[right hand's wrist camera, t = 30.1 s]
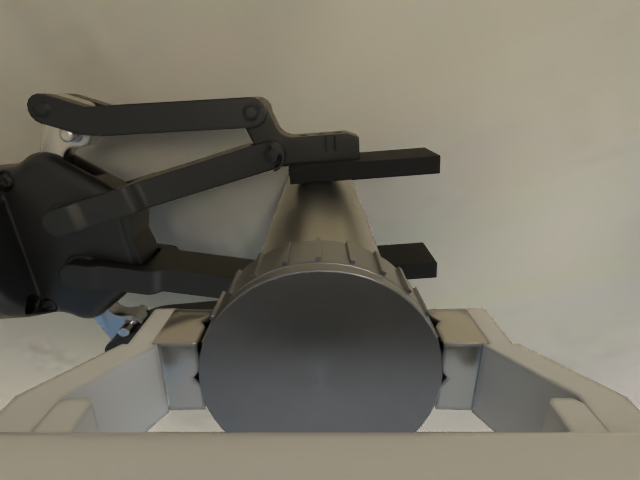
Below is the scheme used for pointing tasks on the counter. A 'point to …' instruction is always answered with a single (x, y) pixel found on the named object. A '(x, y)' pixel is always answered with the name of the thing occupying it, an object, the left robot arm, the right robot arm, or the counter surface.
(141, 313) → the left robot arm
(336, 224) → the jar
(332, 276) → the lid
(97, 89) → the counter surface
